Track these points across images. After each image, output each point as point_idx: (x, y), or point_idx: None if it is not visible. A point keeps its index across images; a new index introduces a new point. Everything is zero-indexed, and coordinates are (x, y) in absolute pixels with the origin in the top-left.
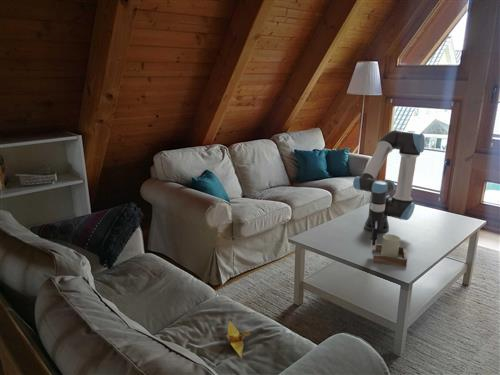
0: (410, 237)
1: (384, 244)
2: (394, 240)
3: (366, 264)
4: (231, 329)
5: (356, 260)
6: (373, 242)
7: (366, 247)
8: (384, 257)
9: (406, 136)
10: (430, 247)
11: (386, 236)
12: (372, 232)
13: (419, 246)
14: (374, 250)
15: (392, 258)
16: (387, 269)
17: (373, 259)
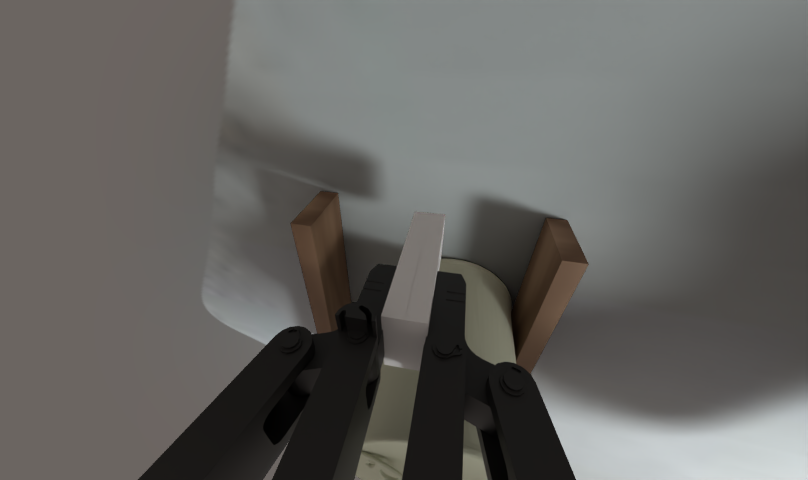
0: (765, 456)
1: (390, 370)
2: (374, 475)
3: (258, 136)
4: None
5: (284, 31)
6: (362, 301)
7: (639, 163)
8: (309, 291)
9: None
10: (589, 465)
11: (463, 469)
12: (407, 455)
13: (607, 444)
14: (543, 231)
15: (318, 328)
16: (267, 262)
17: (310, 205)
